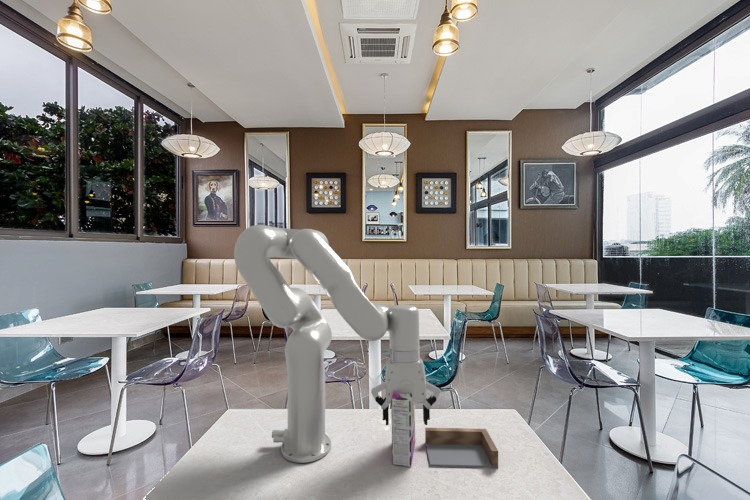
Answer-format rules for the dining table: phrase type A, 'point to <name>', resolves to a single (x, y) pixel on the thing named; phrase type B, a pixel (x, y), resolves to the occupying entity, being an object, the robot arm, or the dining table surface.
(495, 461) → the walnut corner walls
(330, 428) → the dining table surface
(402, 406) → the candy bar box
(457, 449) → the slate mat
